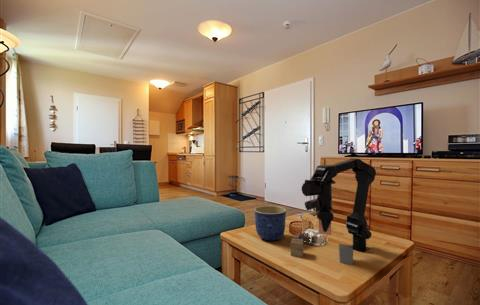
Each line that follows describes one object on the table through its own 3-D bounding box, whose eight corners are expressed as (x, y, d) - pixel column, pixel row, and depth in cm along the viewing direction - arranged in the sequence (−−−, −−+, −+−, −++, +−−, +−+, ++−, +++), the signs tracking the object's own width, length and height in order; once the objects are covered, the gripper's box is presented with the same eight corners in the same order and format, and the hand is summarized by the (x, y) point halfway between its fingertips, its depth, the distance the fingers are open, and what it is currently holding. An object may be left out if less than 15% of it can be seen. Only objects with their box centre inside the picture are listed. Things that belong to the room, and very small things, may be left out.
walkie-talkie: (297, 233, 129) (292, 247, 111) (297, 225, 129) (292, 238, 111) (314, 235, 126) (310, 250, 108) (313, 227, 126) (310, 241, 108)
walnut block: (292, 251, 106) (292, 238, 106) (303, 252, 104) (303, 239, 104) (290, 255, 101) (290, 242, 101) (302, 257, 100) (302, 243, 100)
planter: (248, 236, 125) (248, 208, 125) (271, 229, 135) (271, 204, 134) (268, 246, 111) (268, 215, 111) (293, 239, 120) (292, 210, 120)
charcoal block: (339, 257, 99) (338, 243, 99) (351, 259, 98) (351, 245, 98) (339, 262, 95) (339, 248, 95) (353, 264, 93) (353, 250, 93)
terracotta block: (319, 229, 103) (318, 216, 103) (330, 231, 101) (330, 217, 101) (318, 233, 98) (318, 219, 98) (331, 235, 97) (331, 221, 97)
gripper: (306, 189, 111) (307, 221, 111) (304, 197, 94) (304, 235, 94) (331, 190, 108) (331, 223, 108) (333, 199, 90) (333, 238, 90)
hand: (324, 229), depth 100 cm, fingers closed on terracotta block, 5 cm apart
